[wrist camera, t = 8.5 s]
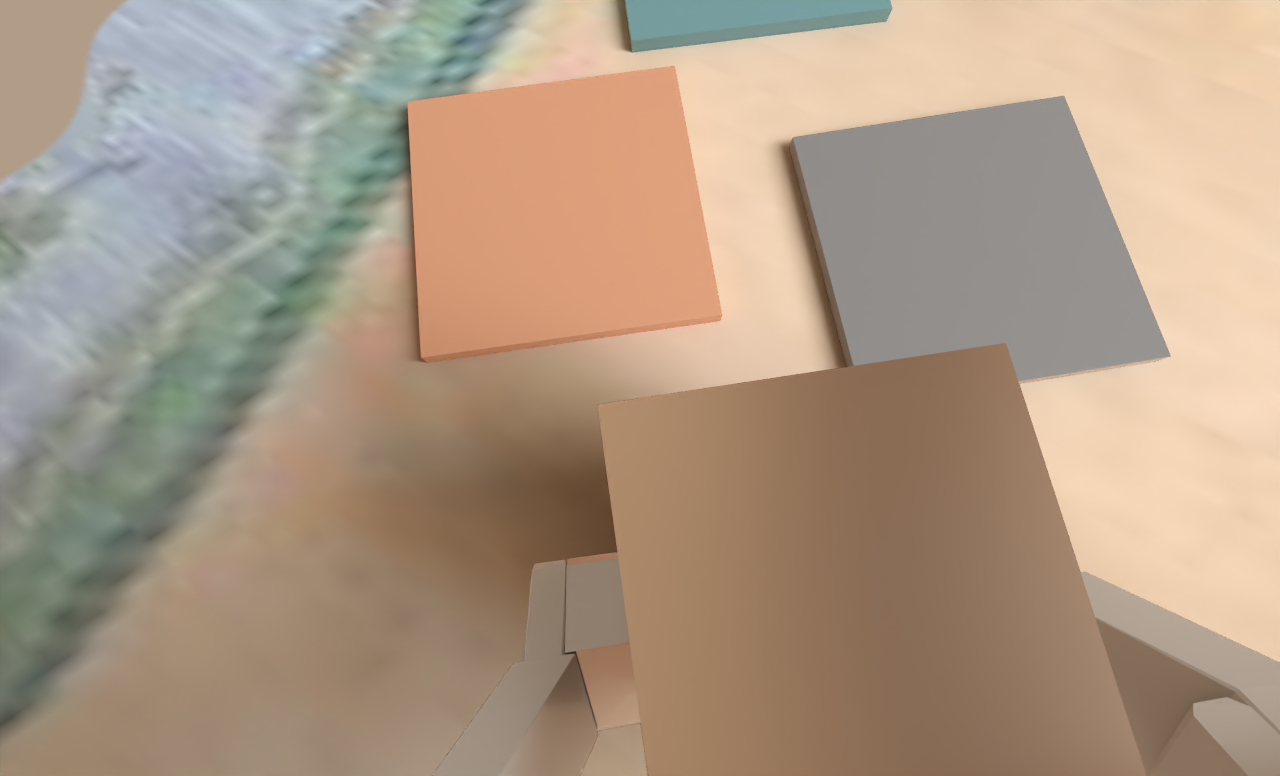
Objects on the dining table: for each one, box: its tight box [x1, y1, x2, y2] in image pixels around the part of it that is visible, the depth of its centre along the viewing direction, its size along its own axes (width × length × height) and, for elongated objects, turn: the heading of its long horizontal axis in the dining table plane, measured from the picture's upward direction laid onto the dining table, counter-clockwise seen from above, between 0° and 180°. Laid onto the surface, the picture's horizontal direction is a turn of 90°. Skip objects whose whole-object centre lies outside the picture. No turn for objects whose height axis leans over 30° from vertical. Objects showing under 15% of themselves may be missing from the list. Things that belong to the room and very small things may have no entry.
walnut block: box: [597, 343, 1147, 776], centre depth 9 cm, size 4×4×9 cm
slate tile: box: [789, 96, 1170, 384], centre depth 16 cm, size 8×8×1 cm
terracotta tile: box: [407, 66, 722, 363], centre depth 17 cm, size 8×8×1 cm
